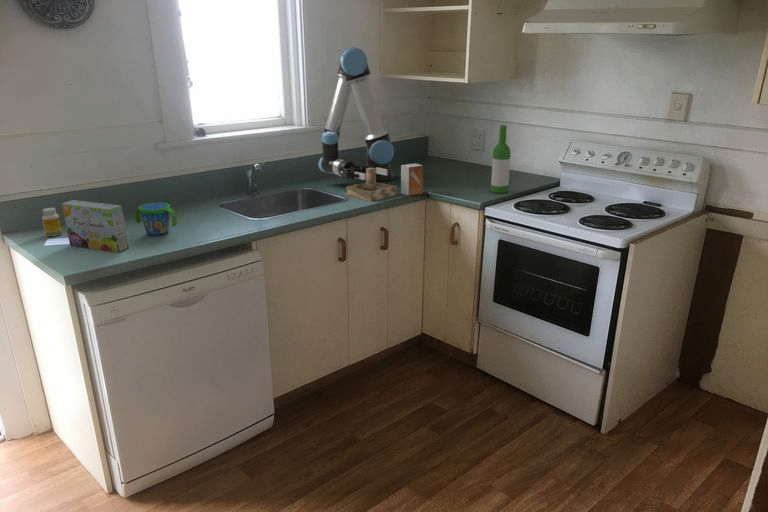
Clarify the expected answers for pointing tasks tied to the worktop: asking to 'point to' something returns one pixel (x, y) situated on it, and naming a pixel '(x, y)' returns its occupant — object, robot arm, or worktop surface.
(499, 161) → the wine bottle
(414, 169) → the small box
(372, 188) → the peg
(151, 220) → the snack cup
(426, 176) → the worktop surface
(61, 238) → the worktop surface
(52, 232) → the supplement bottle
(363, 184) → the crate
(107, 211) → the snack box
